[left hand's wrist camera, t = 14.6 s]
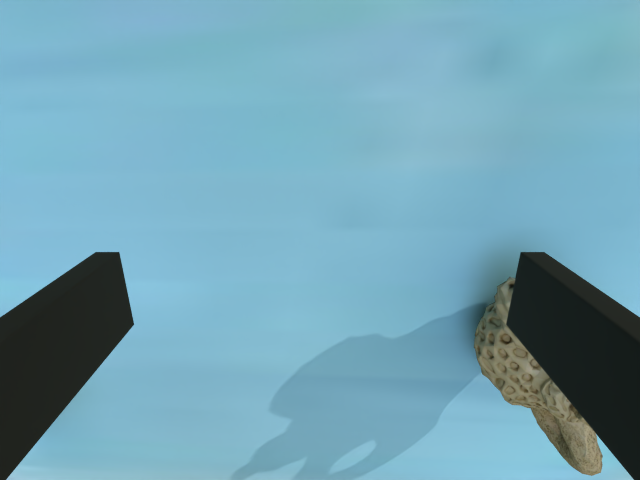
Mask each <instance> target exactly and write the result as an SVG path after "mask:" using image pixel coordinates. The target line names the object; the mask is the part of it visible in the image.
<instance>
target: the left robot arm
mask: <svg viewBox="0 0 640 480" xmlns="http://www.w3.org/2000/svg"><path fill="white" fill-rule="evenodd" d="M133 325H134V322H133V317H132V312H131V307H130V303H129V298H128V293H127V288H126V283H125V278H124V273H123V268H122V263H121V259H120V254H119V252H95V253H94V254H92V255H91V256H90V257H88V258H87V259H85V260H84V261H82V262H81V263H79V264H78V265H76V266H75V267H73V268H72V269H70V270H69V271H68V272H66V273H65V274H63V275H62V276H60V277H59V278H57V279H56V280H54V281H53V282H51V283H50V284H49V285H47V286H46V287H44V288H43V289H41V290H40V291H38V292H37V293H35V294H34V295H32V296H31V297H30V298H28V299H27V300H25V301H24V302H22V303H21V304H19V305H18V306H16V307H15V308H13V309H12V310H10V311H9V312H8V313H6V314H5V315H3V316H2V317H0V480H6V479H7V478H8V477H9V475H10V474H11V473H12V472H13V470H14V469H15V468H16V467H17V466H18V464H19V463H20V462H21V461H22V460H23V458H24V457H25V456H26V455H27V454H28V452H29V451H30V450H31V449H32V447H33V446H34V445H35V444H36V443H37V441H38V440H39V439H40V438H41V437H42V435H43V434H44V433H45V432H46V430H47V429H48V428H49V427H50V426H51V424H52V423H53V422H54V421H55V420H56V418H57V417H58V416H59V415H60V414H61V412H62V411H63V410H64V409H65V407H66V406H67V405H68V404H69V403H70V401H71V400H72V399H73V398H74V397H75V395H76V394H77V393H78V392H79V390H80V389H81V388H82V387H83V386H84V384H85V383H86V382H87V381H88V380H89V378H90V377H91V376H92V375H93V374H94V372H95V371H96V370H97V369H98V367H99V366H100V365H101V364H102V363H103V361H104V360H105V359H106V358H107V357H108V355H109V354H110V353H111V352H112V350H113V349H114V348H115V347H116V346H117V344H118V343H119V342H120V341H121V340H122V338H123V337H124V336H125V335H126V334H127V332H128V331H129V330H130V329H131V327H132V326H133ZM506 325H507V326H508V327H509V329H510V330H511V331H512V332H513V334H514V335H515V336H516V337H517V338H518V340H519V341H520V342H521V343H522V344H523V346H524V347H525V348H526V349H527V350H528V352H529V353H530V354H531V355H532V357H533V358H534V359H535V360H536V361H537V363H538V364H539V365H540V366H541V367H542V369H543V370H544V371H545V372H546V374H547V375H548V376H549V377H550V378H551V380H552V381H553V382H554V383H555V384H556V386H557V387H558V388H559V389H560V390H561V392H562V393H563V394H564V395H565V397H566V398H567V399H568V400H569V401H570V403H571V404H572V405H573V406H574V407H575V409H576V410H577V411H578V412H579V414H580V415H581V416H582V417H583V418H584V420H585V421H586V422H587V423H588V424H589V426H590V427H591V428H592V429H593V430H594V432H595V433H596V434H597V435H598V437H599V438H600V439H601V440H602V441H603V443H604V444H605V445H606V446H607V447H608V449H609V450H610V451H611V452H612V454H613V455H614V456H615V457H616V458H617V460H618V461H619V462H620V463H621V464H622V466H623V467H624V468H625V469H626V470H627V472H628V473H629V474H630V475H631V477H632V478H633V479H634V480H640V317H638V316H637V315H635V314H634V313H632V312H631V311H630V310H628V309H627V308H625V307H624V306H622V305H621V304H619V303H618V302H616V301H615V300H613V299H612V298H610V297H609V296H608V295H606V294H605V293H603V292H602V291H600V290H599V289H597V288H596V287H594V286H593V285H591V284H590V283H589V282H587V281H586V280H584V279H583V278H581V277H580V276H578V275H577V274H575V273H574V272H572V271H571V270H570V269H568V268H567V267H565V266H564V265H562V264H561V263H559V262H558V261H556V260H555V259H553V258H552V257H550V256H549V255H548V254H546V253H545V252H521V254H520V259H519V263H518V268H517V273H516V278H515V283H514V288H513V293H512V298H511V303H510V307H509V312H508V317H507V322H506Z"/></svg>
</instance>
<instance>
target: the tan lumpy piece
mask: <svg viewBox="0 0 640 480" xmlns="http://www.w3.org/2000/svg"><path fill="white" fill-rule="evenodd" d="M514 283H515V278H512V277H509V278H508V280H507V281H506V282H504V283H502V284H501V285H499V286H497V294H496V295H495V296H494V297H495V301H496V302H495V303H493V304H490V305H489V306H487V307H486V311H485V313H484V316H483V317H482V318H481V320H480V322H479V324H478V327H477V330H476V333H475V341H474V348H475V351H476V356H477V360H478V363H479V365H480V367H481V371H482V374H483V375H484V376H486V377H487V378H488V379H489V380H490V381H491V382H492V383H493V385H494V386H495V387H496V388H497V389H498V390H500V392H501V394H502V396H503V397H504V399H505V401H507V402H508V403H510V404H512V405H522V406H524V407H527V408H531V410H532V413H533V415H534V417H535V418H536V420H537V423H538V425H539V426H540V428H541V429H542V430H543V431H544V433H545V434H546V435H547V437H548V439H549V440H550V442H551V443H552V444H553V445H554V446H555V448H556V449H557V450H558V452H559V453H560V454H561V456H562V457H563V458H564V459H565V460H566V461H567V462H568V463H569V464H570V465H571V466H572V467H573V468H575V469H576V470H577V471H579V472H581V473H582V474H586V475H591V476H592V475H595V474H598V473H601V469H602V457H603V456H602V454H601V451H600V448H599V446H598V443H597V436H596V433H595V432H594V430H593V429H592V428H591V427H590V426H589V424H588V423H587V422H586V421H585V420H584V418H583V417H582V416H581V415H580V414H579V412H578V411H577V410H576V409H575V407H574V406H573V405H572V404H571V403H570V401H569V400H568V399H567V398H566V397H565V395H564V394H563V393H562V392H561V390H560V389H559V388H558V387H557V386H556V384H555V383H554V382H553V381H552V380H551V378H550V377H549V376H548V375H547V374H546V372H545V371H544V370H543V369H542V367H541V366H540V365H539V364H538V363H537V361H536V360H535V359H534V358H533V357H532V355H531V354H530V353H529V352H528V350H527V349H526V348H525V347H524V346H523V344H522V343H521V342H520V341H519V340H518V338H517V337H516V336H515V335H514V334H513V332H512V331H511V330H510V329H509V327H508V326H507V325H506V322H507V317H508V312H509V307H510V303H511V298H512V293H513V288H514Z"/></svg>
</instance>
